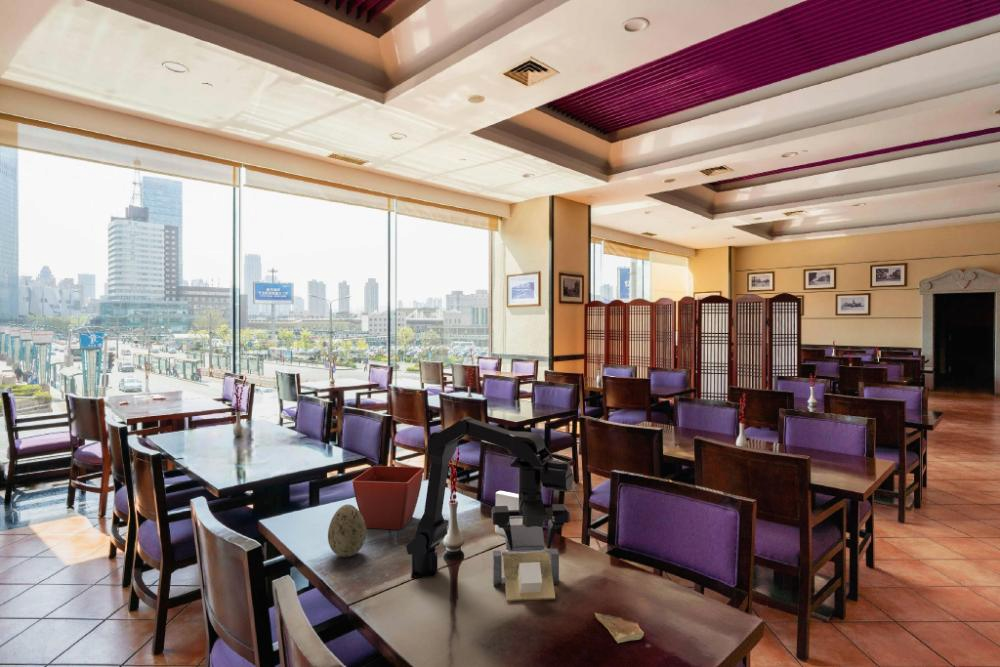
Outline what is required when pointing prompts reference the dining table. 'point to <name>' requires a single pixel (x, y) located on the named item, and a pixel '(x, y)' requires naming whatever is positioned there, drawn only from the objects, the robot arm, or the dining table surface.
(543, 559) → the trapdoor
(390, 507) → the plant pot
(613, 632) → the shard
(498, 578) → the frame
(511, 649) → the dining table surface
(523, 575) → the cube
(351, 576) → the dining table surface
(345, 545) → the decorative egg
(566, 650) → the dining table surface
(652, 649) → the dining table surface
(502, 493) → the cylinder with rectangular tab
